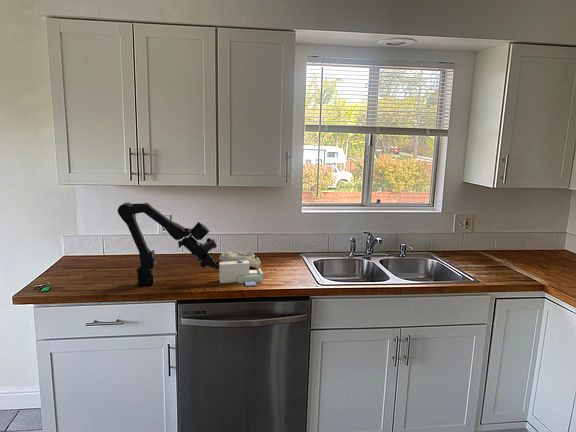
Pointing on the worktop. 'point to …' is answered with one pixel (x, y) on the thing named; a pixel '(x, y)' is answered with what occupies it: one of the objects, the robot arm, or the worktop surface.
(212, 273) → the worktop surface
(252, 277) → the cradle
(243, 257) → the sculpture
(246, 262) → the white stepped block
